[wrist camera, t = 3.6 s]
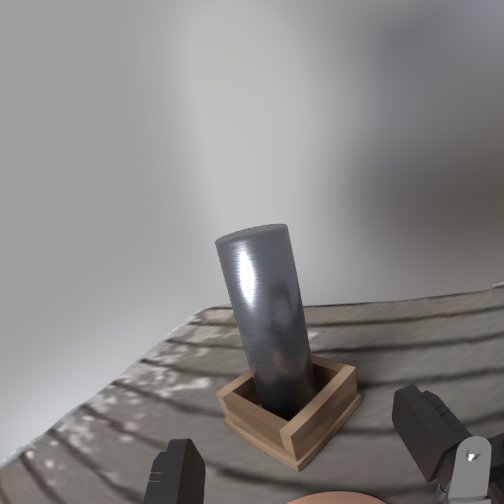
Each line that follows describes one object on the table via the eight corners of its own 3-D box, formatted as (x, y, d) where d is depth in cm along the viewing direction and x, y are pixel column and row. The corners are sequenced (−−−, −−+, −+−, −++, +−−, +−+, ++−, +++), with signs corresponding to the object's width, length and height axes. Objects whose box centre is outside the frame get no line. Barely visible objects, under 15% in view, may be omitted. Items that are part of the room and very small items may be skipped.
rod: (289, 387, 26) (252, 225, 22) (329, 403, 22) (302, 222, 18) (254, 416, 23) (201, 244, 19) (294, 438, 19) (248, 244, 15)
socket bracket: (288, 376, 29) (281, 343, 28) (361, 402, 22) (360, 365, 21) (225, 426, 23) (210, 393, 22) (298, 472, 16) (290, 441, 15)
